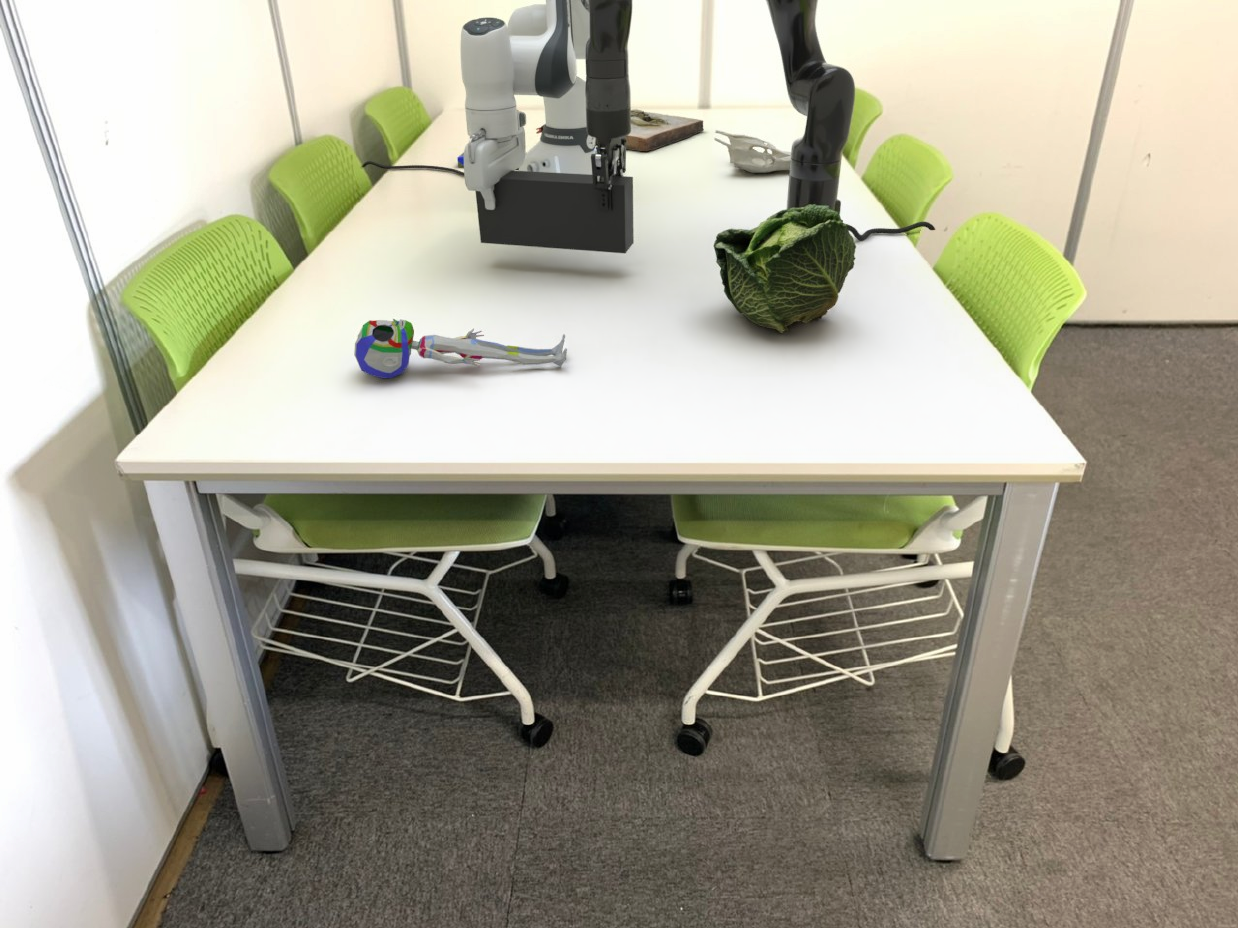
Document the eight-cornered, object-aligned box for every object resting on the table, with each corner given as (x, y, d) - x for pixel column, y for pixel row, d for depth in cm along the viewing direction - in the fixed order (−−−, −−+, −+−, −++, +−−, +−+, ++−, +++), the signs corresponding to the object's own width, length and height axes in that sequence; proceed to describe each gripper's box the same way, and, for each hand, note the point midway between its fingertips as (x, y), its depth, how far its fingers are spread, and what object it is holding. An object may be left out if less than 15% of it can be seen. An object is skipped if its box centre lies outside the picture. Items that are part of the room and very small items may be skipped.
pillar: (484, 140, 247) (465, 158, 230) (485, 148, 248) (466, 167, 231) (476, 140, 247) (457, 158, 230) (477, 148, 248) (457, 166, 231)
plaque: (647, 125, 237) (559, 112, 252) (647, 153, 241) (560, 139, 256) (706, 107, 258) (622, 97, 273) (705, 133, 262) (622, 121, 277)
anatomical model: (716, 127, 227) (816, 125, 224) (715, 164, 232) (813, 163, 229) (712, 140, 215) (818, 139, 211) (712, 179, 220) (815, 179, 216)
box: (480, 243, 165) (473, 177, 159) (492, 233, 170) (486, 169, 163) (625, 253, 159) (624, 185, 152) (633, 243, 163) (632, 176, 157)
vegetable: (744, 347, 153) (688, 245, 145) (835, 284, 154) (785, 179, 146) (797, 369, 135) (736, 254, 127) (900, 297, 136) (846, 179, 128)
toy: (569, 347, 126) (349, 329, 122) (563, 400, 131) (350, 385, 126) (565, 318, 135) (359, 301, 130) (559, 369, 139) (360, 354, 134)
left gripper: (485, 137, 146) (493, 221, 154) (529, 112, 163) (534, 189, 170) (450, 135, 148) (459, 218, 155) (497, 111, 165) (503, 187, 172)
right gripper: (618, 114, 142) (620, 219, 151) (640, 97, 154) (641, 196, 163) (573, 113, 144) (578, 217, 153) (598, 96, 155) (601, 193, 165)
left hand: (499, 203), depth 163 cm, fingers closed on box, 6 cm apart
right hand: (610, 205), depth 158 cm, fingers closed on box, 5 cm apart
